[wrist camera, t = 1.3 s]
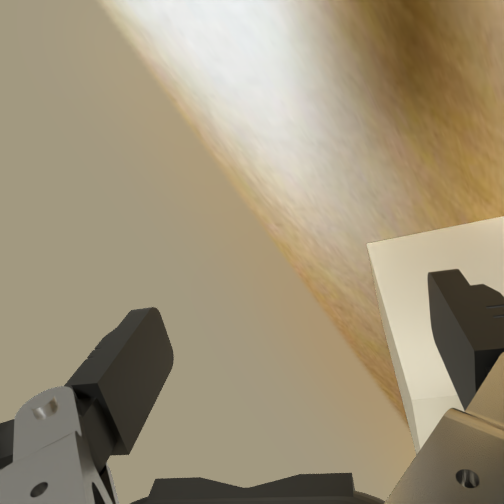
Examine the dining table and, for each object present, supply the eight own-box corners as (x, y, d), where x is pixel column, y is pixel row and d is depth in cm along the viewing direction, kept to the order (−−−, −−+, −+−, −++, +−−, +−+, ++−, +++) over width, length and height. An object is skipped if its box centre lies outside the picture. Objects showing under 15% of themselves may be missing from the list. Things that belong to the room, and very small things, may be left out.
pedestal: (366, 243, 46) (411, 399, 25) (503, 216, 43) (695, 368, 21) (380, 318, 50) (431, 512, 28) (508, 298, 47) (677, 500, 25)
